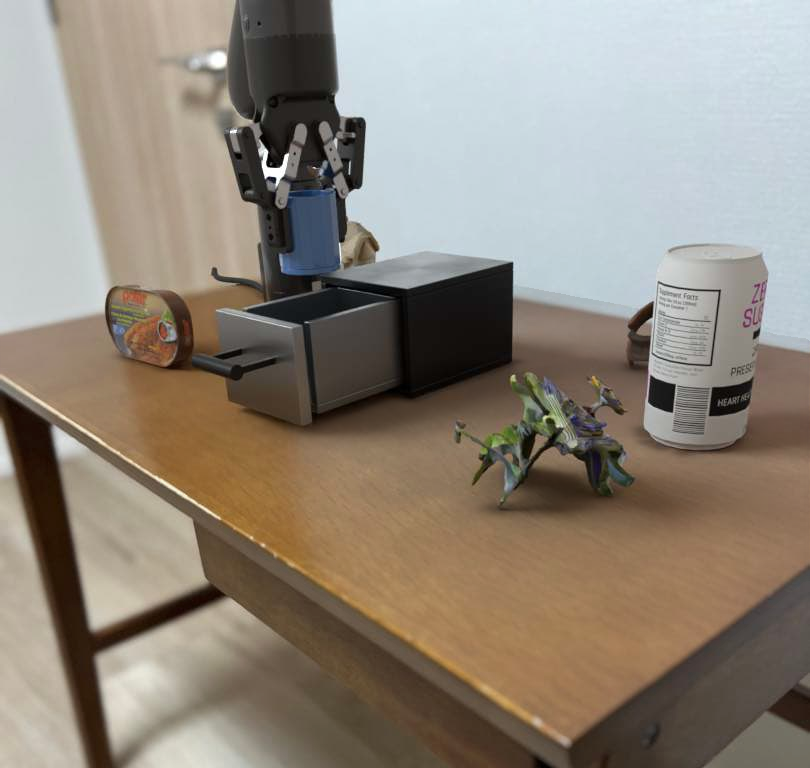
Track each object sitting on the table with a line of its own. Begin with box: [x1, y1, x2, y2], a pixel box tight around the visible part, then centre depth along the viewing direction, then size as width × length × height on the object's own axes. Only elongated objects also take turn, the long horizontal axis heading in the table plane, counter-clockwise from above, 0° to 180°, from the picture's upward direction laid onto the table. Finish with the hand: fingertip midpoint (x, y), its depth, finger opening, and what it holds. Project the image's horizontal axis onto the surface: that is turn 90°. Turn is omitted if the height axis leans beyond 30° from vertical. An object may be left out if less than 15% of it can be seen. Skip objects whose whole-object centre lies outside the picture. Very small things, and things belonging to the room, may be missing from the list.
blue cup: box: [279, 190, 341, 275], centre depth 79 cm, size 6×6×6 cm
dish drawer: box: [191, 285, 406, 427], centre depth 82 cm, size 19×11×9 cm, turn 135°
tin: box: [104, 284, 195, 368], centre depth 101 cm, size 15×3×8 cm, turn 47°
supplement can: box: [643, 242, 769, 451], centre depth 71 cm, size 8×8×15 cm
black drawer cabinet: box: [320, 250, 514, 400], centre depth 92 cm, size 16×13×11 cm
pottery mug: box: [625, 300, 654, 368], centre depth 91 cm, size 12×10×8 cm
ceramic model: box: [334, 215, 380, 272], centre depth 134 cm, size 14×11×10 cm
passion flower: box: [453, 371, 636, 510], centre depth 63 cm, size 11×11×12 cm
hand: (309, 246), depth 79 cm, fingers closed on blue cup, 5 cm apart
